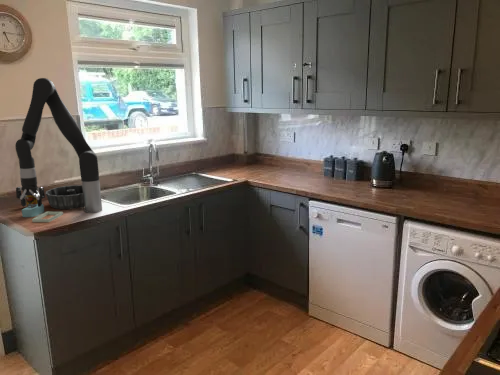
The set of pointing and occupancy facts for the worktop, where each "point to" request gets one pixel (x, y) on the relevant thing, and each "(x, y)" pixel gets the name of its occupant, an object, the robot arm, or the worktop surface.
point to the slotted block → (32, 211)
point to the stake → (33, 207)
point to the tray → (38, 218)
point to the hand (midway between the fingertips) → (31, 206)
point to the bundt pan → (66, 197)
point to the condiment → (31, 200)
